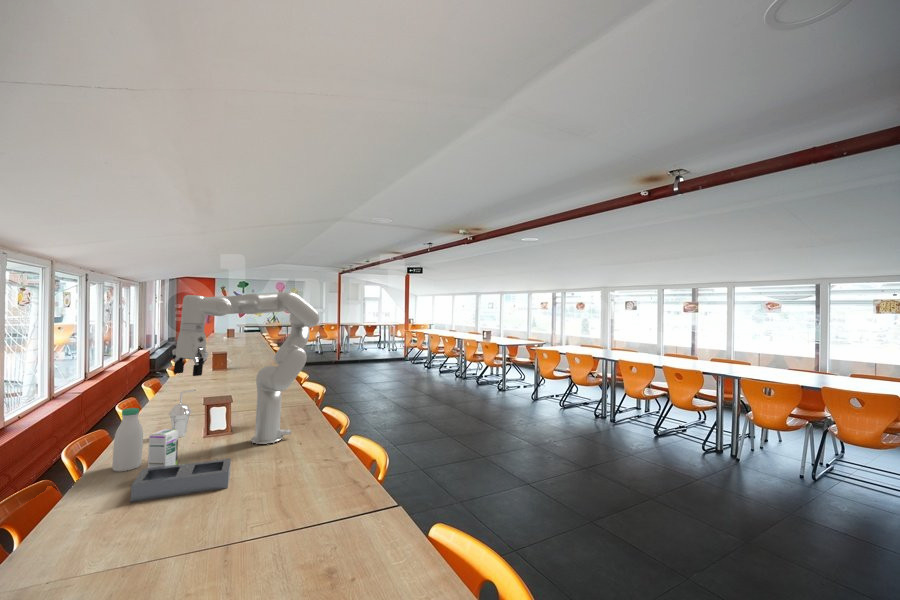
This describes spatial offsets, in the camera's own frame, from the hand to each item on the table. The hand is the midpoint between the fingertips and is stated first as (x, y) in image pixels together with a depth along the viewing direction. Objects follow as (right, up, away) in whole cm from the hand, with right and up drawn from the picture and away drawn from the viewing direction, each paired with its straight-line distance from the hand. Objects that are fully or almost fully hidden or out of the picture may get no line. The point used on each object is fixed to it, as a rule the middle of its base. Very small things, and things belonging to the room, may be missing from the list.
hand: (187, 374), depth 142 cm
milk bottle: (-14, -31, -10) cm, 35 cm away
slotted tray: (+14, -31, -22) cm, 41 cm away
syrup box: (+2, -31, -15) cm, 34 cm away
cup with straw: (-20, -32, +24) cm, 44 cm away
